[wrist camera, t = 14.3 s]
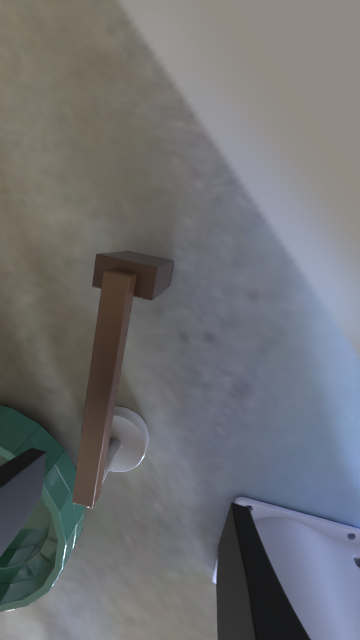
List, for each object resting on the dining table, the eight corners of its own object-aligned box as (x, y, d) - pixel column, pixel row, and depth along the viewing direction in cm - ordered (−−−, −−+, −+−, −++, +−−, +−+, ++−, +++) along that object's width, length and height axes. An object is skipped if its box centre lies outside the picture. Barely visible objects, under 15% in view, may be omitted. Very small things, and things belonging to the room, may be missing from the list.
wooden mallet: (143, 467, 23) (115, 545, 17) (86, 451, 24) (40, 522, 18) (185, 263, 19) (168, 272, 13) (116, 248, 20) (69, 251, 14)
